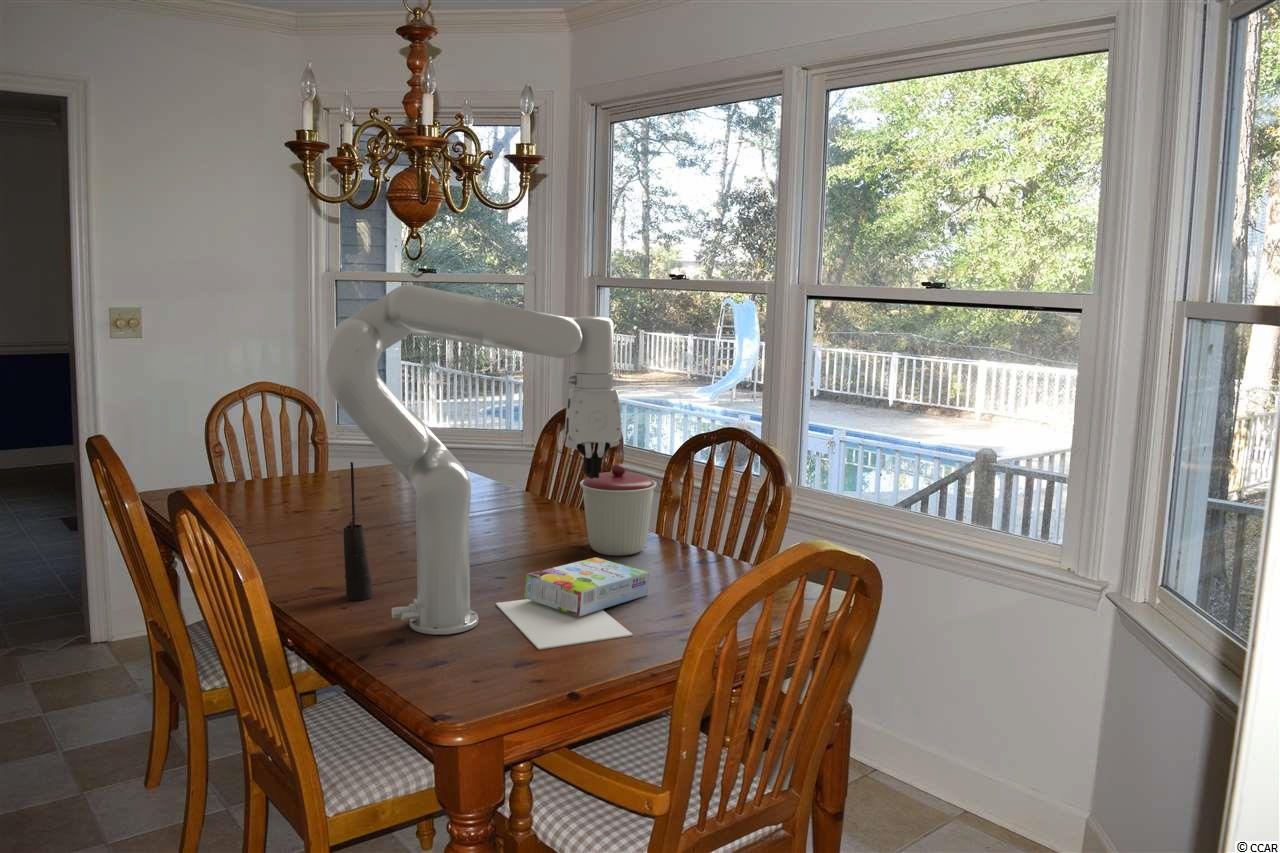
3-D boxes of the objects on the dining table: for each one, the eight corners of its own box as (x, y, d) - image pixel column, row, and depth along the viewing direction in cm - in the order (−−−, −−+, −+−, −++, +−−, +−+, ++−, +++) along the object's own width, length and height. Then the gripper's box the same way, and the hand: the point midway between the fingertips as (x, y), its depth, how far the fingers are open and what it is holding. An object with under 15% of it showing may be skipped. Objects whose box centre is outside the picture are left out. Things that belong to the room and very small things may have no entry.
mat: (538, 649, 173) (538, 648, 173) (495, 604, 196) (495, 603, 196) (632, 635, 181) (632, 634, 181) (580, 593, 204) (580, 592, 204)
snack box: (648, 598, 204) (594, 579, 213) (650, 571, 203) (596, 554, 212) (577, 619, 187) (522, 598, 197) (579, 590, 187) (524, 571, 196)
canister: (586, 563, 226) (587, 472, 223) (573, 542, 243) (574, 457, 240) (663, 559, 230) (665, 469, 227) (645, 538, 247) (646, 455, 244)
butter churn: (339, 588, 205) (335, 454, 201) (386, 588, 206) (383, 455, 201) (328, 602, 196) (323, 463, 192) (377, 602, 197) (373, 463, 192)
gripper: (561, 385, 181) (561, 483, 184) (637, 383, 187) (635, 478, 190) (549, 381, 188) (549, 475, 191) (622, 379, 194) (621, 471, 197)
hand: (592, 476), depth 191 cm, fingers closed
